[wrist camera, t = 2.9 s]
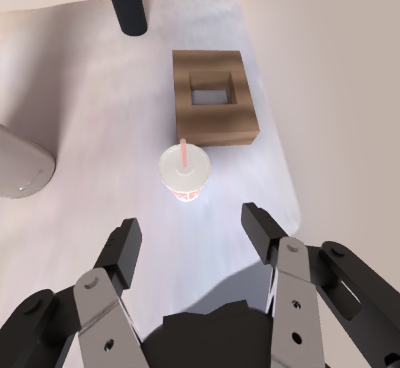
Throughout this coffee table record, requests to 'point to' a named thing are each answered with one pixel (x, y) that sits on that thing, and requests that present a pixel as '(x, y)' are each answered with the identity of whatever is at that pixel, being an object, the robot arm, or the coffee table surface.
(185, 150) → the beverage cup
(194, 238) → the coffee table surface
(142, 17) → the black water bottle
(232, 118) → the wooden cup holder
